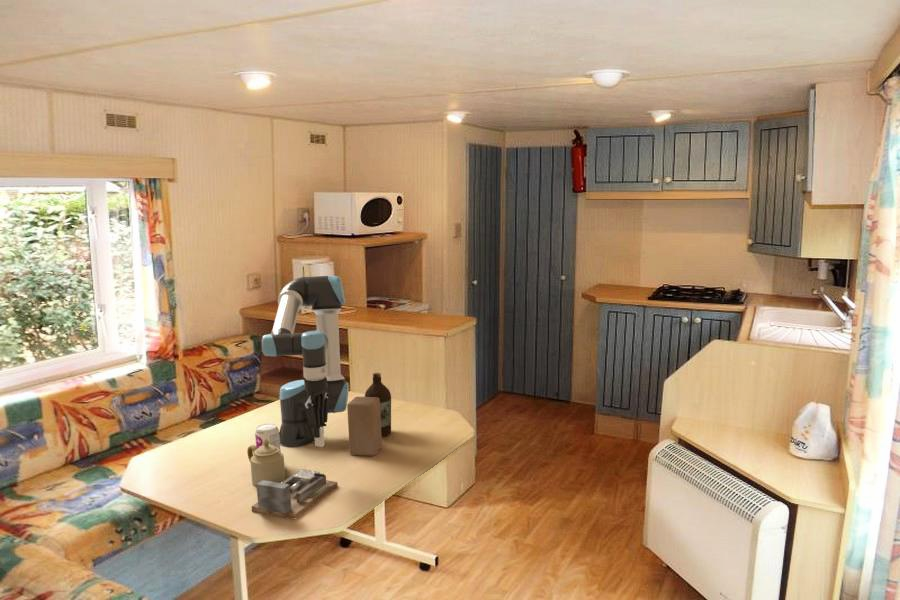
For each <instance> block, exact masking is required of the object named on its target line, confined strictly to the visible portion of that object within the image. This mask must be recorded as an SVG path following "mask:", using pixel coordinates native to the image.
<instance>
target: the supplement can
mask: <svg viewBox="0 0 900 600" xmlns="http://www.w3.org/2000/svg"><path fill="white" fill-rule="evenodd" d="M279 432H280V428H278V425H277V424H275V423H264V424H261V425H258V426H257V427H256V430H255V432H254V435H255V438H254V439H255V446H256V447H257V448H259V447H261V446H264V444H263V441H264V440H265V439H267V440H268V441H269V444H268V445H273V446H275V447H278V448H279V451H278V452H281V450H282V449H281V444H280V437H279ZM281 453H282V452H281Z"/></svg>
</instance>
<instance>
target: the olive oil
mask: <svg viewBox="0 0 900 600" xmlns="http://www.w3.org/2000/svg"><path fill="white" fill-rule="evenodd" d="M381 375H382V374H381V372H373V373H372V383H371V385H369V387H368V388H367V389H366V391H365V394H364V397H378V398H379V399H380V415H381V436H382V438H385V437H387V436H388V437H389V436H390V435H391V434H392V394H391V392H390V389H389V388H388V387H387V386H386V385H384V383H383V382H382V376H381Z"/></svg>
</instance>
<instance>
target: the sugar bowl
mask: <svg viewBox="0 0 900 600" xmlns="http://www.w3.org/2000/svg"><path fill="white" fill-rule="evenodd" d="M263 444H264V446H261V447H259V448H257V447H256V444H250V445H249V446H248V448H247V457H248V460H249V463H250V472H251V474H250V475H251V482H252V485H253V484H254V485H253V486H255V487H257V485H256V484H257V483H259V482H260V481H262V480H265V481H271V482H277V483H281V482H283V481H285V480H286V475H285V474H286V473H285V471H286V470H285V469H286V468H285V457H284V453H282V452H278V451H279V448H278V447H275V446H273V445H268V444H269V441H268V440H267V439H265V440H264V441H263ZM284 479H285V480H284Z"/></svg>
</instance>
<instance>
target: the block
mask: <svg viewBox="0 0 900 600" xmlns="http://www.w3.org/2000/svg"><path fill="white" fill-rule="evenodd" d="M346 410H347V411H346V412H347V425H348V443H349V444H348V445H349V455H351V456H367V457H369V456H371V457H373V456H376V455H377V453H378V452H379V451H380V449H381V448H382V446H383V443H382V442H383V440H382V438H383V437H382V436H381V415H380V399H379V398H378V397H365V396H355V397H353V399H352V400H351V401H349V402H347V407H346Z"/></svg>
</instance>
